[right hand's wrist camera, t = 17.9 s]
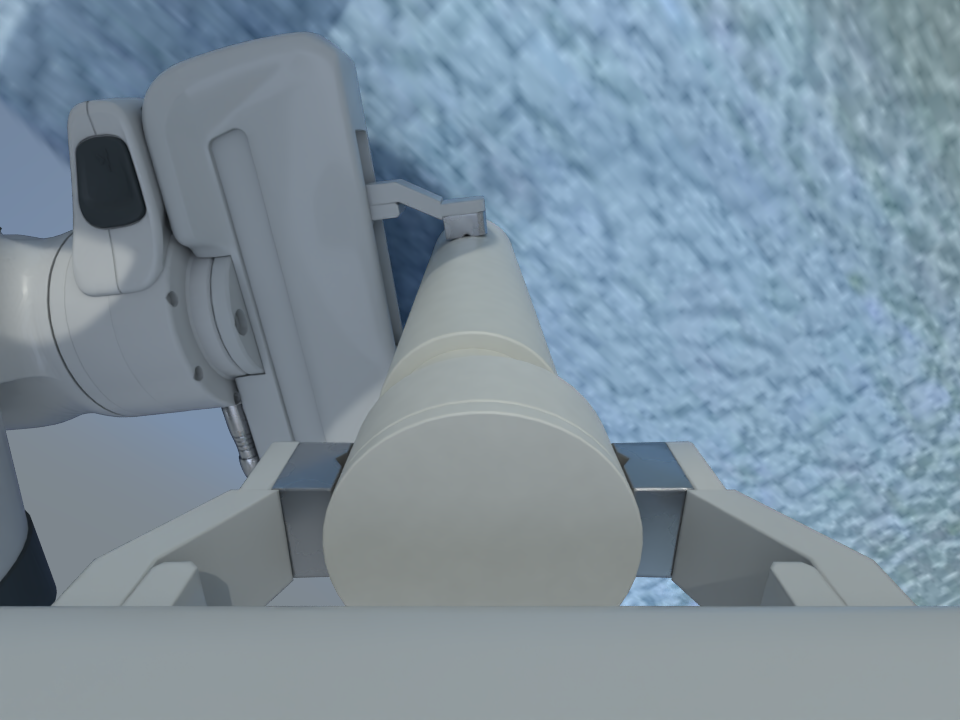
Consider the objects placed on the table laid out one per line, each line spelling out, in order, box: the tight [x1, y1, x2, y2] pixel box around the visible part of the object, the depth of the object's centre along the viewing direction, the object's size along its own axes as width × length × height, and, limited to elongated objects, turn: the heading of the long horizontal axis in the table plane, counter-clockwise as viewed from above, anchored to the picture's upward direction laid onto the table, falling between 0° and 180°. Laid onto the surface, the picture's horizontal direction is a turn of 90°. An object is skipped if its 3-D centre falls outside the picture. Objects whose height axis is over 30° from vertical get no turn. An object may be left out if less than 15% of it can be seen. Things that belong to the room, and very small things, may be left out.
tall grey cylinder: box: [379, 220, 558, 398], centre depth 19 cm, size 4×4×20 cm
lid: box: [323, 356, 643, 606], centre depth 9 cm, size 5×5×2 cm
